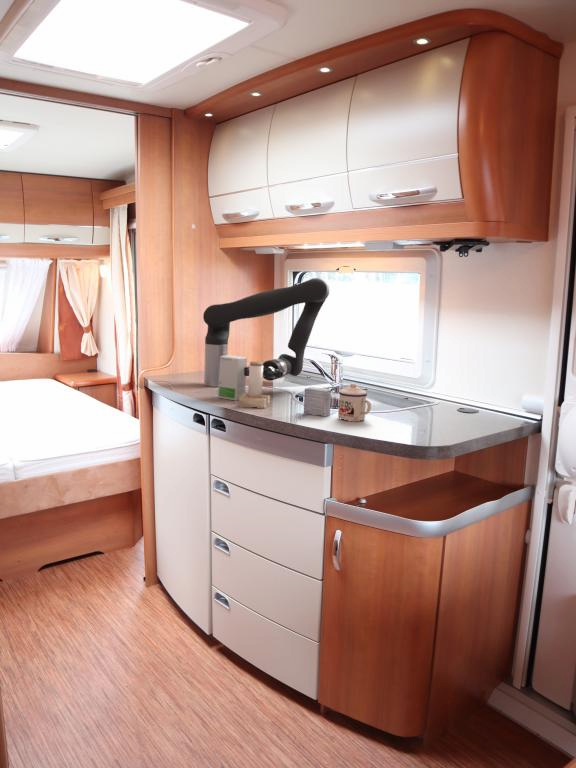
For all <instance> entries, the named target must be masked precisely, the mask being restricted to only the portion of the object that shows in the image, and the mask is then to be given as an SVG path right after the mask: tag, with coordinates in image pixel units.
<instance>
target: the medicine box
mask: <svg viewBox="0 0 576 768" xmlns="http://www.w3.org/2000/svg"><path fill="white" fill-rule="evenodd" d="M331 394H332V390H331V389H330V388H322V387H314V386H310V387H306V388H304V398H303V399H304V400H303V401H304V402H303V414H304V413H306V415H311V414H315V415H314V416H317V415H323V416H322V417H326V416H325V415H327V416H329V415H328V414H330V415H331V400H332V399H331V397H332V395H331Z"/></svg>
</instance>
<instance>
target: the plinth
mask: <svg viewBox="0 0 576 768" xmlns="http://www.w3.org/2000/svg"><path fill="white" fill-rule="evenodd" d="M269 403H270V404H271V395H268V394H262V397H259V398H254V397H249V396H248V393H245V395H243V396H241V397H240V398H239V400H238V407H241V408H251V407H257V408H256V409H266V408H267V407H268V406H269V405H270V404H269ZM268 404H269V405H268ZM267 405H268V406H267ZM266 406H267V407H266ZM265 407H266V408H265Z"/></svg>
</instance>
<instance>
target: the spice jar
mask: <svg viewBox="0 0 576 768" xmlns="http://www.w3.org/2000/svg"><path fill="white" fill-rule="evenodd" d="M263 363H264V362H262V361H249V366H248V367H249V376H248V393H247V394H248V396H249V397H254V398H259V397H262V395H263Z"/></svg>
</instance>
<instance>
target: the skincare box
mask: <svg viewBox="0 0 576 768" xmlns="http://www.w3.org/2000/svg"><path fill="white" fill-rule="evenodd" d="M247 365H248V357H244V356H239V355H233V354H227V355H226V356H220V370H219V387H217V388H218V390H217V398H219V399H225V400H231V401H235V400H236V401H239V398H240V397H241V396H243V395H245V394H246V384H247V381H246V380H247V376H245V375H244V368H245V367H248V366H247Z"/></svg>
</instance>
